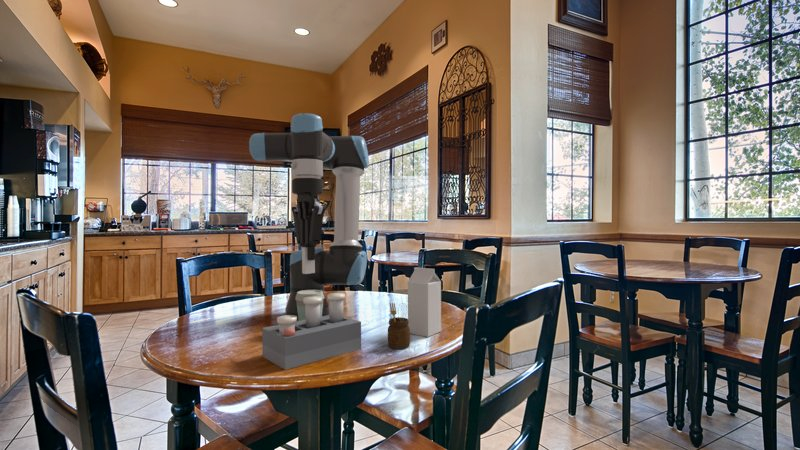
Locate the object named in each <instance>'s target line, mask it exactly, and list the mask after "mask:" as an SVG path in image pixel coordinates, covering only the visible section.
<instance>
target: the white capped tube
mask: <svg viewBox="0 0 800 450" xmlns="http://www.w3.org/2000/svg"><path fill="white" fill-rule="evenodd" d="M297 321H298V319H297V316H295V315H281V316H278V317H276V324H278V325H279V333H281V334H284V330H285V329H288V328H293V329H295V322H297Z"/></svg>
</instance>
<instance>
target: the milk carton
mask: <svg viewBox="0 0 800 450" xmlns="http://www.w3.org/2000/svg"><path fill="white" fill-rule="evenodd" d="M413 270H414V271H412V272H413V273H412V274H411V275H410V278H409V279H408V281H407V319H408V321H409V324H408V326H409V328H410V335H411V334H412V335H417V336H422V337H427V338H429V337H432V336H433V335H436V334H438V333H440V332H442V280H441V279H440V278H439V276H438V275H437V274H436V272H435V268H429V267H428V268H426V267H417V266H416V267H414V268H413Z"/></svg>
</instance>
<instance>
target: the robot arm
mask: <svg viewBox="0 0 800 450" xmlns="http://www.w3.org/2000/svg"><path fill="white" fill-rule="evenodd" d="M322 120H323V119H322V117H321V116H319V115H317V114H315V113H296V114H295V115H293V116H292V117H291V123H290V132H262V133H261V132H260V133H253V134H252V135H250V138H249V141H248V145H249V146H248V147H249V153H250V156H251V157H252V159H253V160H254V161H257V162H290V167H291V176H292V177H293V178H292V179H291V193H292V194H293V195H297V197H296V205H295V206H291V212H292V215H293V222H294V233H295V239H296V243H297V245H300V247H301V249H300V250H295V251H292V252H291V253H290V256H289V257H290V258H289V280H290V281H289V284H290V285H289V288H290V289H289V290H290V292H289V296H288V300H287V303H286V305H285V309H284V311H285V315H295V316H297V320H299V319H298V311H297V302H296V300H295V298H296V295H297V292H299V291H303V290H321V291H323V294H324V297H325V298H324V299H323V309H322V316H327V315H330V313H329V301H328V299H327V296H326V294H325V285H331V286H333V285H335V286H336V285H338V286H339V285H341V286H343V285H346V286H350V285H360V284H361V283H362V282H363V281H364V278H365V276H366V269H367V265H368V264H367V263H368V255H367V254H368V253H367V252H366V251H365V250H363V245H362V244H361V243H360V242H359V225H360V224H359V223H360V189H361V188H360V187H361V184H360V183H361V182H360V181H361V177H362V176H363V175H364V174H365V169H367V168H369V166H370V165H369V164H370V162H369V161H370V159H369V151H368V147H367V143H366V139H365V138H364V137H363V136H360V135H345V136H344V135H341V136H340V135H339V136H336V135H335V136H330V135H328V134H326V133H325V132H324V131H323V129H324V126H323V121H322ZM324 169H331V171H332V173H333V174H334V176H335V178H336V180H335V200H334V201H335V202H334V203H335V205H334V233H333V237H334V238H333V242H332V243H331V244H330V245H329V251H327V250H326V251H325V249H324V247H323V246H321V247H317V246H319V245H320V244H321V240H322V239H321V238H322V232H323V231H322V230H323V223H324V221H323V220H324V214H325V213H326V205H322V204H320V197H319V195H322V194H323V193H324V180H323V179H322V178H323V176H324Z"/></svg>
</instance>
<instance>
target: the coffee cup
mask: <svg viewBox="0 0 800 450" xmlns="http://www.w3.org/2000/svg"><path fill="white" fill-rule="evenodd" d="M312 296H317V297H322V302H321V303H320V317H322V309H323V299H324V298H325V297H324V294H323V291H321V290H303V291H299V292H297V295H296V298H295V300H296V302H297V311H298V319H297V320H298V321H301V320H306V313H305V303H303V298H305V297H312Z"/></svg>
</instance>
